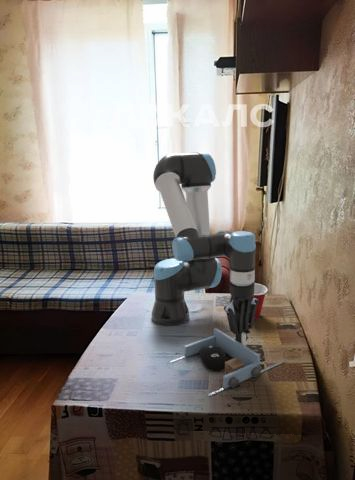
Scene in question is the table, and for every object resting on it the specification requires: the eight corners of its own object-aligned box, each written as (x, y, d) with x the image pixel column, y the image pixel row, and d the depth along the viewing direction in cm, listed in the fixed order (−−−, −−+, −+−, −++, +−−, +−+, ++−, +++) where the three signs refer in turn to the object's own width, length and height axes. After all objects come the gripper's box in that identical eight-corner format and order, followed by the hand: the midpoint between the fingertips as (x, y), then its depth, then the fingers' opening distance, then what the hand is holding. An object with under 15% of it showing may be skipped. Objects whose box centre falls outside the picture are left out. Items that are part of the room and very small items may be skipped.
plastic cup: (252, 324, 141) (252, 294, 139) (233, 314, 150) (234, 286, 148) (272, 316, 147) (273, 288, 144) (253, 307, 156) (254, 280, 153)
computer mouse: (206, 374, 111) (206, 362, 110) (197, 353, 123) (197, 342, 122) (230, 371, 112) (230, 359, 111) (219, 350, 124) (219, 340, 123)
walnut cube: (224, 373, 111) (224, 362, 110) (235, 369, 113) (235, 357, 112) (233, 380, 107) (233, 368, 107) (244, 375, 109) (244, 363, 109)
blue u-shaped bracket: (182, 354, 122) (182, 337, 120) (214, 342, 128) (214, 326, 127) (228, 390, 102) (228, 371, 101) (262, 375, 109) (262, 356, 108)
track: (169, 361, 118) (169, 361, 118) (240, 335, 133) (240, 335, 133) (209, 396, 101) (209, 396, 101) (285, 362, 116) (285, 361, 116)
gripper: (234, 290, 107) (233, 362, 113) (266, 280, 114) (264, 349, 120) (217, 283, 114) (218, 352, 119) (249, 274, 120) (248, 340, 126)
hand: (241, 350), depth 119 cm, fingers closed
